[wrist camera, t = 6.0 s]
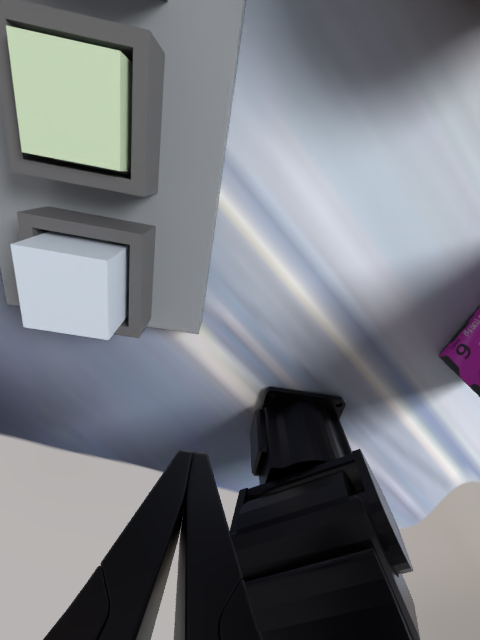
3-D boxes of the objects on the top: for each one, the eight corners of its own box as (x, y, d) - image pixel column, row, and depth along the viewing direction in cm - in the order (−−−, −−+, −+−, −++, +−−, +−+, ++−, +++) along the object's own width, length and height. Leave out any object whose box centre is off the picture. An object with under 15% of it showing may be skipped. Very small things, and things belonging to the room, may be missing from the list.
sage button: (143, 74, 14) (120, 50, 11) (141, 171, 15) (119, 171, 13) (53, 54, 13) (6, 25, 11) (60, 155, 15) (21, 152, 12)
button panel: (270, -173, 12) (284, -351, 8) (202, 320, 21) (192, 355, 17) (-54, -267, 11) (-227, -522, 7) (27, 292, 21) (-25, 322, 17)
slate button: (130, 245, 16) (107, 260, 13) (129, 313, 17) (108, 340, 15) (50, 231, 15) (10, 244, 13) (57, 302, 17) (23, 327, 14)
